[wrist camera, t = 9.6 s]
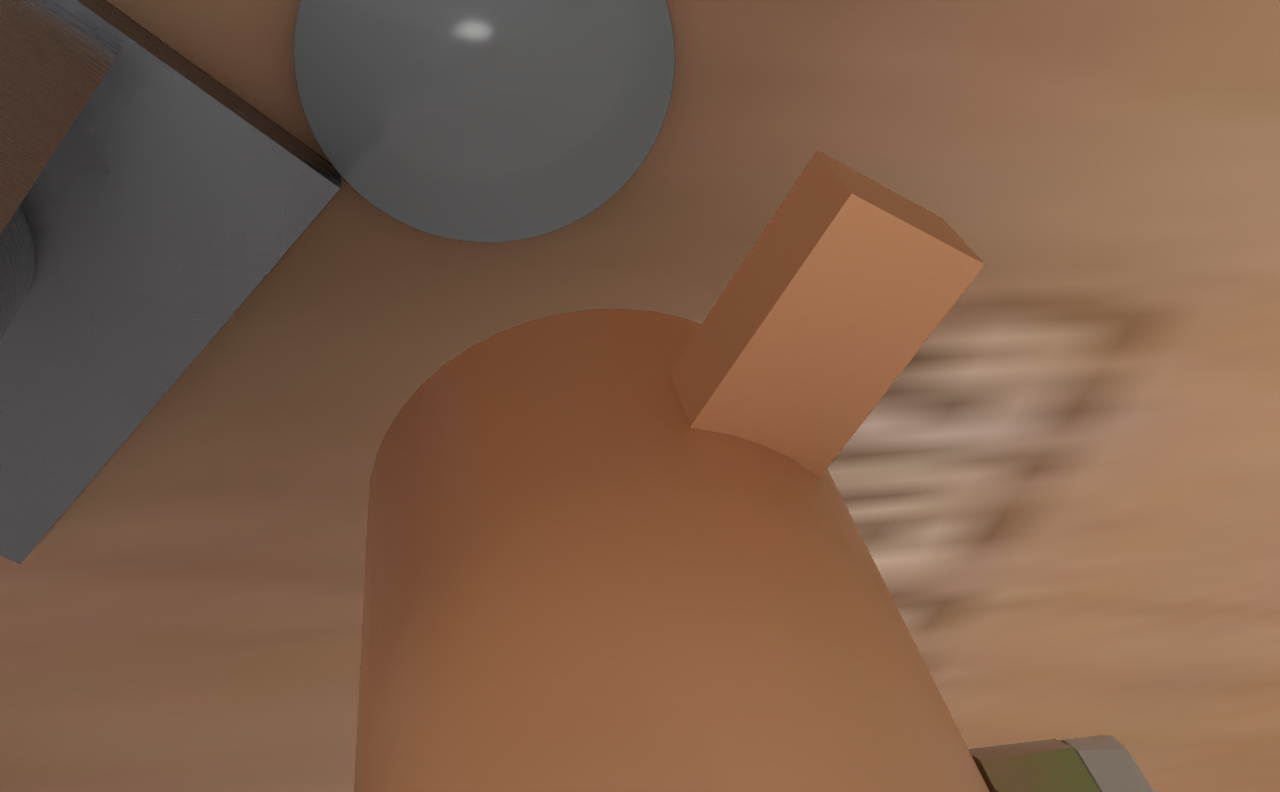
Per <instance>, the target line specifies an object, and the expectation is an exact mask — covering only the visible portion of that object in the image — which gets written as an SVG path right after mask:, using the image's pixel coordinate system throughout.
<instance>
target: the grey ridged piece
mask: <svg viewBox="0 0 1280 792" xmlns="http://www.w3.org/2000/svg"><path fill="white" fill-rule="evenodd" d="M340 185H341V175H340V174H339V173H338V171H337V170H336V169H335V167H334V166H333V165H331V164H330V163H329V162H327V161H326V160H324V159H323V158H322V157H320V156H319V155H317V154H316V153H315V152H313V151H312V150H311V149H309V148H308V147H306V146H305V145H304V144H302V143H301V142H300V141H298V140H297V139H295V138H294V137H293V136H291V135H290V134H288V133H287V132H286V131H284V130H283V129H282V128H280V127H279V126H277V125H276V124H275V123H273V122H272V121H271V120H269V119H268V118H266V117H265V116H264V115H262V114H261V113H259V112H258V111H257V110H255V109H254V108H253V107H251V106H250V105H248V104H247V103H246V102H244V101H243V100H242V99H240V98H239V97H237V96H236V95H235V94H233V93H232V92H230V91H229V90H228V89H226V88H225V87H224V86H222V85H221V84H219V83H218V82H217V81H215V80H214V79H213V78H211V77H210V76H208V75H207V74H206V73H204V72H203V71H201V70H200V69H199V68H197V67H196V66H195V65H193V64H192V63H190V62H189V61H188V60H186V59H185V58H184V57H182V56H181V55H179V54H178V53H177V52H175V51H174V50H172V49H171V48H170V47H168V46H167V45H166V44H164V43H163V42H161V41H160V40H159V39H157V38H156V37H155V36H153V35H152V34H150V33H149V32H148V31H146V30H145V29H143V28H142V27H141V26H139V25H138V24H137V23H135V22H134V21H132V20H131V19H130V18H128V17H127V16H126V15H124V14H123V13H121V12H120V11H119V10H117V9H116V8H114V7H113V6H112V5H110V4H109V3H108V2H106V1H105V0H0V555H1V556H3V557H6V558H8V559H10V560H12V561H15V562H17V563H19V564H21V562H22V561H23V560H24V559H25V558H26V556H27V555H28V554H29V553H30V552H31V551H32V549H33V548H34V547H35V546H36V545H37V544H38V542H39V541H40V540H41V539H42V538H43V537H44V535H45V534H46V533H47V532H48V531H49V529H50V528H51V527H52V526H53V525H54V524H55V522H56V521H57V520H58V519H59V518H60V517H61V515H62V514H63V513H64V512H65V511H66V510H67V508H68V507H69V506H70V505H71V504H72V502H73V501H74V500H75V499H76V498H77V497H78V495H79V494H80V493H81V492H82V491H83V490H84V488H85V487H86V486H87V485H88V484H89V483H90V481H91V480H92V479H93V478H94V477H95V476H96V474H97V473H98V472H99V471H100V470H101V468H102V467H103V466H104V465H105V464H106V463H107V461H108V460H109V459H110V458H111V457H112V456H113V454H114V453H115V452H116V451H117V450H118V449H119V447H120V446H121V445H122V444H123V443H124V441H125V440H126V439H127V438H128V437H129V436H130V434H131V433H132V432H133V431H134V430H135V429H136V427H137V426H138V425H139V424H140V423H141V422H142V420H143V419H144V418H145V417H146V416H147V414H148V413H149V412H150V411H151V410H152V409H153V407H154V406H155V405H156V404H157V403H158V402H159V400H160V399H161V398H162V397H163V396H164V395H165V393H166V392H167V391H168V390H169V389H170V388H171V386H172V385H173V384H174V383H175V382H176V380H177V379H178V378H179V377H180V376H181V375H182V373H183V372H184V371H185V370H186V369H187V368H188V366H189V365H190V364H191V363H192V362H193V361H194V359H195V358H196V357H197V356H198V355H199V353H200V352H201V351H202V350H203V349H204V348H205V346H206V345H207V344H208V343H209V342H210V341H211V339H212V338H213V337H214V336H215V335H216V334H217V332H218V331H219V330H220V329H221V328H222V326H223V325H224V324H225V323H226V322H227V321H228V319H229V318H230V317H231V316H232V315H233V314H234V312H235V311H236V310H237V309H238V308H239V307H240V305H241V304H242V303H243V302H244V301H245V300H246V298H247V297H248V296H249V295H250V294H251V292H252V291H253V290H254V289H255V288H256V287H257V285H258V284H259V283H260V282H261V281H262V280H263V278H264V277H265V276H266V275H267V274H268V273H269V271H270V270H271V269H272V268H273V267H274V265H275V264H276V263H277V262H278V261H279V260H280V258H281V257H282V256H283V255H284V254H285V253H286V251H287V250H288V249H289V248H290V247H291V246H292V244H293V243H294V242H295V241H296V240H297V239H298V237H299V236H300V235H301V234H302V233H303V231H304V230H305V229H306V228H307V227H308V226H309V224H310V223H311V222H312V221H313V220H314V219H315V217H316V216H317V215H318V214H319V213H320V212H321V210H322V209H323V208H324V207H325V206H326V204H327V203H328V202H329V201H330V200H331V199H332V197H333V196H334V195H335V194H336V193H337V192H338V190H339V189H340Z"/></svg>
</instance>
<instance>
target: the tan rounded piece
mask: <svg viewBox="0 0 1280 792" xmlns="http://www.w3.org/2000/svg"><path fill="white" fill-rule="evenodd" d="M984 265H985V264H984V263H983V262H982V261H981V260H980V258H979V257H978V256H977V255H976V254H975V253H974V252H973V251H972V250H971V249H970V248H969V247H968V245H967V244H966V243H965V242H964V241H963V240H962V239H961V238H960V237H959V236H958V235H957V233H956V232H955V231H954V230H953V229H952V228H951V227H950V226H949V225H948V224H947V223H946V222H945V220H944V219H942V218H941V217H939V216H937V215H935V214H933V213H931V212H930V211H928V210H926V209H924V208H922V207H920V206H919V205H917V204H915V203H913V202H911V201H909V200H907V199H906V198H904V197H902V196H900V195H898V194H896V193H895V192H893V191H891V190H889V189H887V188H885V187H884V186H882V185H880V184H878V183H876V182H874V181H873V180H871V179H869V178H867V177H865V176H863V175H862V174H860V173H858V172H856V171H854V170H852V169H850V168H849V167H847V166H845V165H843V164H841V163H839V162H838V161H836V160H834V159H832V158H830V157H828V156H827V155H825V154H823V153H821V152H819V151H817V152H816V153H815V155H814V156H813V158H812V159H811V161H810V162H809V164H808V165H807V167H806V168H805V170H804V171H803V173H802V175H801V176H800V178H799V179H798V181H797V182H796V184H795V185H794V187H793V188H792V190H791V191H790V193H789V194H788V196H787V197H786V199H785V200H784V202H783V203H782V205H781V206H780V208H779V209H778V211H777V212H776V214H775V215H774V217H773V218H772V220H771V221H770V223H769V224H768V226H767V227H766V229H765V230H764V232H763V233H762V235H761V236H760V238H759V239H758V241H757V242H756V244H755V245H754V247H753V248H752V250H751V251H750V253H749V254H748V256H747V257H746V259H745V260H744V262H743V263H742V265H741V266H740V268H739V269H738V271H737V273H736V274H735V276H734V277H733V279H732V280H731V282H730V283H729V285H728V286H727V288H726V289H725V291H724V292H723V294H722V295H721V297H720V298H719V300H718V301H717V303H716V304H715V306H714V307H713V309H712V310H711V312H710V313H709V315H708V316H707V318H706V319H705V321H704V322H703V324H702V325H701V324H698V323H695V322H692V321H689V320H687V319H684V318H679V317H675V316H670V315H666V314H661V313H657V312H648V311H638V310H628V309H604V310H586V311H579V312H572V313H564V314H558V315H554V316H550V317H546V318H542V319H538V320H534V321H531V322H527V323H524V324H522V325H519V326H517V327H514V328H511V329H509V330H506V331H503V332H501V333H498V334H496V335H494V336H492V337H490V338H488V339H486V340H484V341H483V342H481V343H479V344H477V345H475V346H473V347H471V348H469V349H468V350H466V351H465V352H463V353H462V354H460V355H459V356H457V357H456V358H454V359H453V360H452V361H450V362H449V363H447V364H446V365H444V366H443V367H442V368H441V369H440V370H438V371H437V372H436V373H435V374H434V375H433V376H432V377H431V378H429V379H428V380H427V381H426V382H425V383H424V384H423V385H422V386H421V387H420V388H419V389H418V390H417V391H416V392H415V394H414V395H413V396H412V397H411V398H410V399H409V401H408V402H407V403H406V404H405V405H404V406H403V408H402V409H401V411H400V412H399V414H398V415H397V417H396V418H395V420H394V422H393V423H392V425H391V426H390V428H389V429H388V431H387V433H386V436H385V438H384V440H383V442H382V445H381V447H380V449H379V451H378V454H377V457H376V461H375V464H374V468H373V472H372V476H371V482H370V493H369V505H368V524H367V544H366V564H365V584H364V604H363V624H362V644H361V664H360V684H359V703H358V723H357V743H356V763H355V783H354V792H989V790H988V788H987V786H986V784H985V782H984V780H983V778H982V776H981V774H980V772H979V770H978V768H977V766H976V764H975V762H974V760H973V758H972V756H971V754H970V752H969V750H968V748H967V746H966V744H965V742H964V740H963V738H962V736H961V734H960V732H959V730H958V728H957V726H956V724H955V722H954V720H953V718H952V716H951V714H950V712H949V710H948V708H947V706H946V704H945V702H944V700H943V698H942V696H941V694H940V692H939V690H938V688H937V686H936V684H935V682H934V680H933V678H932V676H931V674H930V672H929V670H928V668H927V666H926V664H925V662H924V660H923V658H922V656H921V654H920V652H919V650H918V648H917V646H916V644H915V642H914V640H913V638H912V636H911V634H910V632H909V630H908V628H907V626H906V624H905V622H904V620H903V618H902V616H901V614H900V612H899V610H898V608H897V606H896V604H895V603H894V601H893V599H892V597H891V595H890V593H889V591H888V589H887V587H886V585H885V583H884V581H883V579H882V577H881V575H880V573H879V571H878V569H877V567H876V565H875V563H874V561H873V559H872V557H871V555H870V553H869V551H868V549H867V547H866V545H865V543H864V541H863V539H862V537H861V535H860V533H859V531H858V529H857V527H856V525H855V523H854V521H853V519H852V517H851V515H850V513H849V511H848V509H847V507H846V505H845V503H844V501H843V499H842V497H841V495H840V493H839V491H838V489H837V487H836V485H835V483H834V481H833V479H832V477H831V475H830V473H829V471H828V469H827V468H828V466H829V465H830V464H831V463H832V461H833V460H834V459H835V457H836V456H837V455H838V454H839V452H840V451H841V450H842V448H843V447H844V446H845V445H846V443H847V442H848V441H849V439H850V438H851V437H852V435H853V434H854V433H855V432H856V430H857V429H858V428H859V426H860V425H861V424H862V423H863V421H864V420H865V419H866V417H867V416H868V415H869V414H870V412H871V411H872V410H873V408H874V407H875V406H876V405H877V403H878V402H879V401H880V399H881V398H882V397H883V395H884V394H885V393H886V392H887V390H888V389H889V388H890V386H891V385H892V384H893V383H894V381H895V380H896V379H897V377H898V376H899V375H900V374H901V372H902V371H903V370H904V368H905V367H906V366H907V365H908V363H909V362H910V361H911V359H912V358H913V357H914V355H915V354H916V353H917V352H918V350H919V349H920V348H921V346H922V345H923V344H924V343H925V341H926V340H927V339H928V337H929V336H930V335H931V334H932V332H933V331H934V330H935V328H936V327H937V326H938V325H939V323H940V322H941V321H942V319H943V318H944V317H945V315H946V314H947V313H948V312H949V310H950V309H951V308H952V306H953V305H954V304H955V303H956V301H957V300H958V299H959V297H960V296H961V295H962V294H963V292H964V291H965V290H966V288H967V287H968V286H969V285H970V283H971V282H972V281H973V279H974V278H975V277H976V275H977V274H978V273H979V272H980V270H981V269H982V268H983V266H984Z"/></svg>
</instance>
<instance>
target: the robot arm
mask: <svg viewBox="0 0 1280 792" xmlns="http://www.w3.org/2000/svg"><path fill="white" fill-rule="evenodd" d="M968 750H969V752H970V754H971V756H972V758H973V760H974V762H975V764H976V766H977V768H978V770H979V772H980V774H981V776H982V778H983V780H984V782H985V784H986V786H987V788H988V790H989V792H1154V790H1153V789H1152V787H1151V786H1150V784H1149V783H1148V781H1147V780H1146V778H1145V777H1144V775H1143V773H1142V772H1141V770H1140V769H1139V767H1138V766H1137V764H1136V763H1135V761H1134V760H1133V758H1132V757H1131V755H1130V754H1129V752H1128V750H1127V749H1126V748H1125V746H1124V745H1123V744H1122V743H1121V742H1120V741H1118V740H1117V739H1116V738H1114V737H1113V736H1109V735H1098V736H1090V737H1082V738H1074V739H1066V740H1056V739H1050V740H1042V741H1033V742H1025V743H1016V744H1008V745H1000V746H991V747H983V748H974V749H968Z"/></svg>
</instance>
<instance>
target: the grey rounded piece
mask: <svg viewBox="0 0 1280 792" xmlns="http://www.w3.org/2000/svg"><path fill="white" fill-rule="evenodd" d="M294 65H295V74H296V82H297V88H298V91H299V95H300V99H301V103H302V107H303V110H304V113H305V115H306V118H307V120H308V123H309V125H310V128H311V130H312V133H313V134H314V136H315V138H316V140H317V141H318V143H319V145H320V147H321V148H322V150H323V152H324V154H325V155H326V156H327V158H328V159H329V161H330V162H331V163H332V165H333V166H334V167H335V169H336V170H337V171H338V173H339V174H340V175H341V176H342V177H343V178H344V179H345V180H346V181H347V182H348V183H349V184H350V185H351V186H352V187H353V188H354V189H355V191H357V192H358V193H359V194H360V195H362V196H363V197H364V198H365V199H366V200H368V201H369V202H370V203H371V204H373V205H374V206H375V207H377V208H379V209H380V210H382V211H383V212H385V213H386V214H388V215H390V216H391V217H393V218H394V219H397V220H399V221H401V222H403V223H405V224H407V225H409V226H411V227H413V228H416V229H419V230H422V231H425V232H428V233H430V234H433V235H436V236H441V237H446V238H450V239H455V240H460V241H471V242H507V241H514V240H521V239H528V238H531V237H535V236H539V235H542V234H546V233H550V232H552V231H554V230H557V229H559V228H562V227H564V226H567V225H569V224H571V223H573V222H575V221H577V220H579V219H580V218H582V217H584V216H586V215H588V214H589V213H591V212H592V211H594V210H595V209H596V208H598V207H599V206H601V205H602V204H603V203H605V202H606V201H608V200H609V199H610V198H611V197H612V196H613V195H614V194H615V193H616V192H617V191H618V190H619V189H621V188H622V187H623V186H624V185H625V184H626V182H627V181H628V180H629V179H630V178H631V177H632V175H633V174H634V173H635V172H636V171H637V169H638V168H639V167H640V165H641V164H642V162H643V161H644V159H645V158H646V156H647V155H648V153H649V151H650V150H651V148H652V146H653V144H654V142H655V140H656V138H657V136H658V134H659V132H660V130H661V127H662V124H663V122H664V119H665V116H666V113H667V110H668V107H669V102H670V97H671V92H672V88H673V81H674V67H675V50H674V35H673V29H672V24H671V19H670V13H669V10H668V7H667V4H666V1H665V0H301V1H300V5H299V8H298V14H297V21H296V27H295V33H294Z"/></svg>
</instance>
